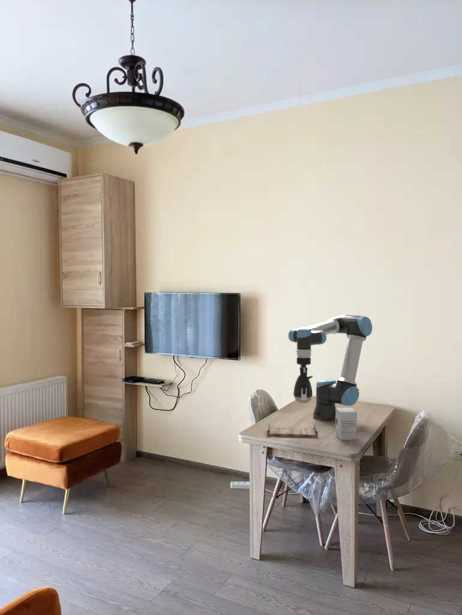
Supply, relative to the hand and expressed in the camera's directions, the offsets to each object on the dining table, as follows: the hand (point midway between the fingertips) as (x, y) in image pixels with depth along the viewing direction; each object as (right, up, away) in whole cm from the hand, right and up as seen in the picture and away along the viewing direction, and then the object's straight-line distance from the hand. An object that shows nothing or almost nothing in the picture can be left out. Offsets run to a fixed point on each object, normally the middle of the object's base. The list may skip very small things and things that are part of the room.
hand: (303, 397), depth 260 cm
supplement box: (+22, -20, -5) cm, 30 cm away
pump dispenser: (0, -3, 0) cm, 3 cm away
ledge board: (-6, -20, +1) cm, 21 cm away
